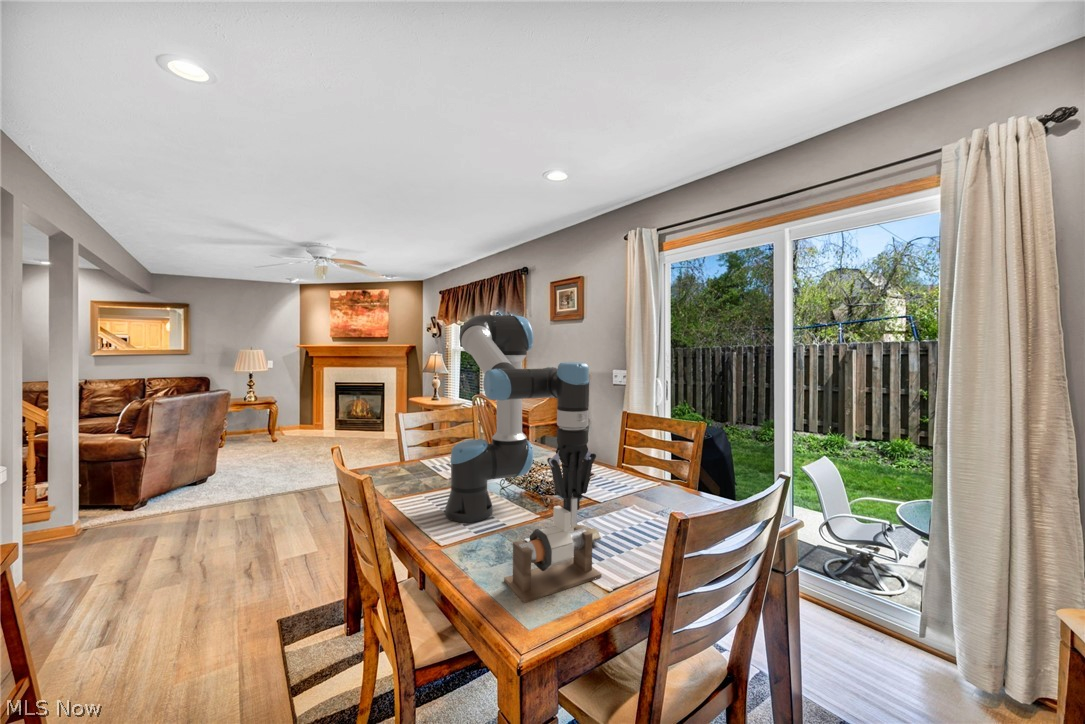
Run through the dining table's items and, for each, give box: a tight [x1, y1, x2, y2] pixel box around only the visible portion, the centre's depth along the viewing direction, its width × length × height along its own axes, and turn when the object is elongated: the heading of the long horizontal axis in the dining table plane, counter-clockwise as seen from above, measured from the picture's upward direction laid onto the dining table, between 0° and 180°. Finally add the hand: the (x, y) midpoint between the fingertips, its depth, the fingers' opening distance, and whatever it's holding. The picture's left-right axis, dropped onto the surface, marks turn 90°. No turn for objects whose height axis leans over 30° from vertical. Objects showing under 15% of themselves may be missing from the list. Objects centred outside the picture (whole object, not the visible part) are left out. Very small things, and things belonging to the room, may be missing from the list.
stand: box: [503, 526, 602, 604], centre depth 104 cm, size 21×10×10 cm, turn 121°
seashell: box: [569, 524, 602, 543], centre depth 124 cm, size 12×12×3 cm
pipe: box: [519, 528, 586, 564], centre depth 104 cm, size 18×4×4 cm, turn 121°
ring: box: [529, 528, 551, 571], centre depth 102 cm, size 1×9×9 cm, turn 31°
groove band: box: [528, 539, 545, 564], centre depth 102 cm, size 4×5×5 cm
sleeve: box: [536, 505, 574, 568], centre depth 104 cm, size 6×8×12 cm
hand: (571, 523), depth 106 cm, fingers closed
